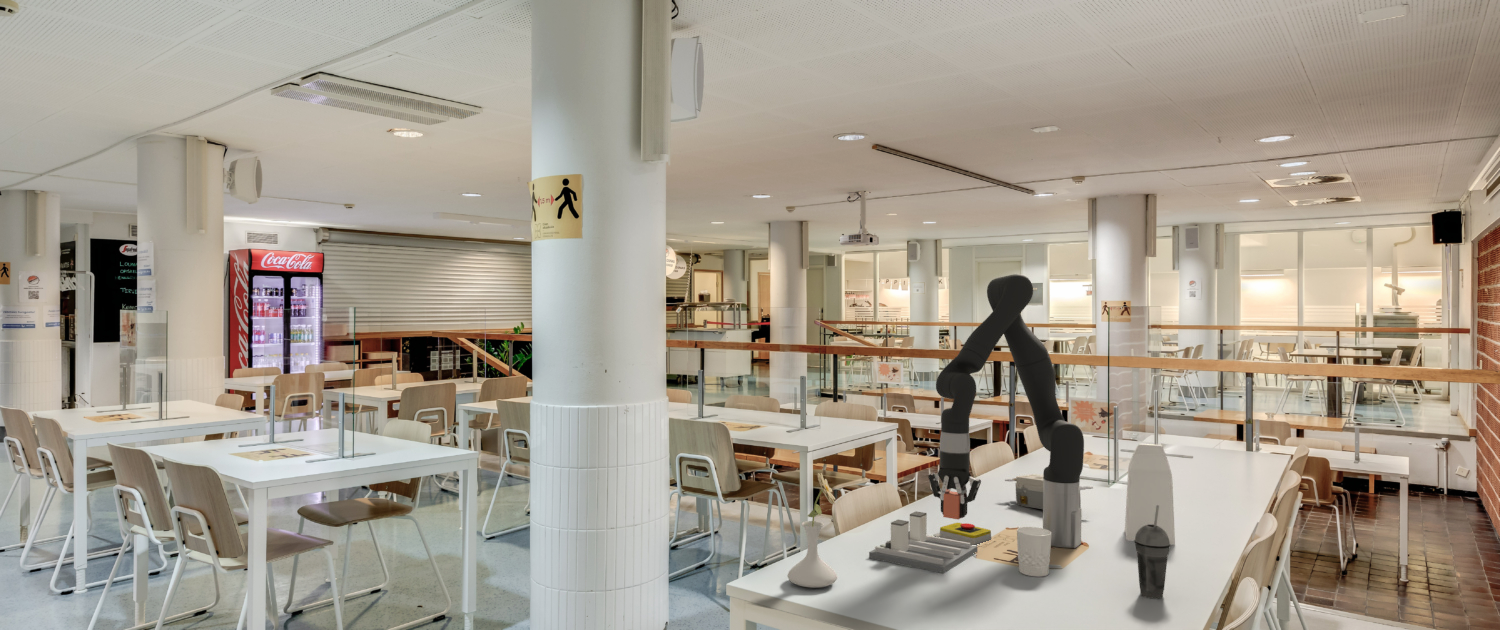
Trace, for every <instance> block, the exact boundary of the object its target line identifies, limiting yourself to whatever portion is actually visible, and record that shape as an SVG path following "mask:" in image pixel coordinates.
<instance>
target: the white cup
mask: <svg viewBox="0 0 1500 630" xmlns="http://www.w3.org/2000/svg"><path fill="white" fill-rule="evenodd" d="M1016 541H1017V543H1016V546H1017V560H1018V571H1019V572H1020V574H1023V575H1025V576H1029V577H1036V578H1037V577H1038V578H1039V577H1040V578H1041V577H1046V576H1048V575H1049V573H1050V562H1051V561H1050V560H1051V557H1050V556H1051V549H1052V548H1051V547H1052V546H1051V532H1050V531H1049V530H1046V529H1043V527H1034V526H1023V527H1018V528H1017V529H1016Z"/></svg>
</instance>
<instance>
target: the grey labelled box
mask: <svg viewBox="0 0 1500 630" xmlns="http://www.w3.org/2000/svg"><path fill="white" fill-rule="evenodd" d="M1043 479H1044V478H1043V474H1034V473H1032V474H1026V475H1025V474H1024V475H1019V476H1016V478H1014V477H1013V478H1007V479H1006V478H1005V479H1004V482H1015V483H1014V484H1015V499H1016V505H1017V506H1021V507H1026V508H1032V509H1033V508H1034V509H1039V510H1043ZM1091 489H1094V487H1093V486H1090V485H1089V486H1088V485H1087V486H1086V485H1085V486H1081V485H1079V508H1081V507H1082V506H1081V503H1082V502H1081V500H1082V499H1081V491H1083V490H1091ZM1081 509H1082V508H1081Z"/></svg>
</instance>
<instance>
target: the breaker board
mask: <svg viewBox="0 0 1500 630" xmlns="http://www.w3.org/2000/svg"><path fill="white" fill-rule="evenodd" d="M909 535H910V530H909ZM975 552H977V553H978V547H977V546H972V545H971V543H967V542H962V541H956V540H950V539H945V538H939V537H935V536H933V535H928V534H926V541H925V542H921V541H915V540H910V539H909V544H908V551H906V552H904V551H899V550H894V549H891V539H890V540H887V541H886V542H885V543H884V544H880V545H879V546H875V547H874V549H873V550H871V551H869V552H868V557H869V559H873V560H878V561H883V562H886V563H891V564H896V565H902V566H906V567H911V568H916V569H921V570H924V571H925V570H927V571H931V572H936V573H941V574H945V573H947V572H948V571H950V570H951V569H953V568H954V567H956V566H958V565H959V564H961V563H962V562H964V561H966V560H967V559H969V558H970V557H972V556H974V555H973V553H975ZM975 554H976V553H975Z"/></svg>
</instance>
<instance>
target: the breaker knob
mask: <svg viewBox="0 0 1500 630" xmlns="http://www.w3.org/2000/svg"><path fill="white" fill-rule="evenodd" d="M909 531H910V520H909V521H908V520H903V519H896V520H893V521H891V522H890V540H891V549H894V550H899V551H904V552H906V551H908V544H909Z"/></svg>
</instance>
